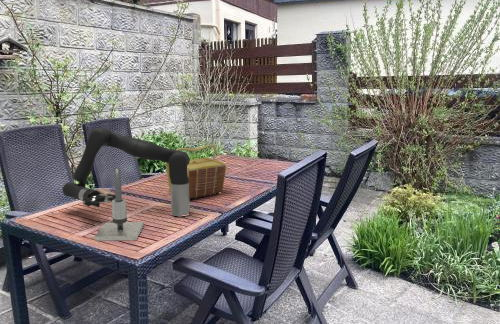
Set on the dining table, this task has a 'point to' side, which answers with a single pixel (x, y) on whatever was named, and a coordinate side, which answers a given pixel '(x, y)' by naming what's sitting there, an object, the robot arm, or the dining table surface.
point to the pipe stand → (119, 230)
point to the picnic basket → (203, 174)
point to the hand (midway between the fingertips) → (107, 202)
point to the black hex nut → (119, 221)
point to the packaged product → (105, 192)
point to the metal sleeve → (119, 209)
